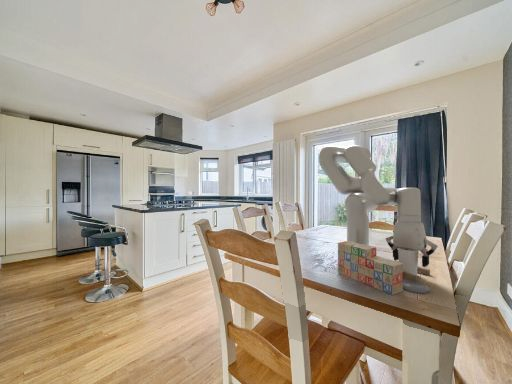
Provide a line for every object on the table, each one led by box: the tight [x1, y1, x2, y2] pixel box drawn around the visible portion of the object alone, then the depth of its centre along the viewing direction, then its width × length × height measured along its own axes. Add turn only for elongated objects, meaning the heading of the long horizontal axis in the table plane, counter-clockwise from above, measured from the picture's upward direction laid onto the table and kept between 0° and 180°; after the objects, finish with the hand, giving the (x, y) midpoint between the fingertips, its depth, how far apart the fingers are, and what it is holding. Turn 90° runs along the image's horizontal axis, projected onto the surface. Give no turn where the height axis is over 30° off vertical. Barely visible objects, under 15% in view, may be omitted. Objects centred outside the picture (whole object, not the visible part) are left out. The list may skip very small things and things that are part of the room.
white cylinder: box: [398, 247, 420, 276], centre depth 84 cm, size 7×7×10 cm
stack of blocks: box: [337, 240, 404, 296], centre depth 78 cm, size 21×6×12 cm, turn 28°
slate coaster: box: [403, 279, 430, 295], centre depth 72 cm, size 9×9×1 cm
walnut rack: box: [396, 260, 431, 282], centre depth 85 cm, size 12×13×2 cm
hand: (410, 262), depth 83 cm, fingers open, 9 cm apart
